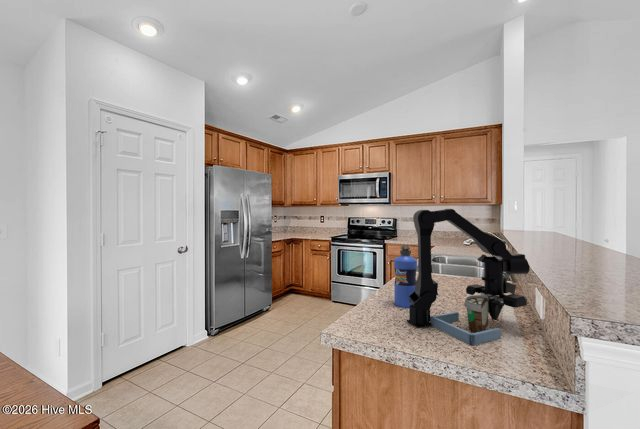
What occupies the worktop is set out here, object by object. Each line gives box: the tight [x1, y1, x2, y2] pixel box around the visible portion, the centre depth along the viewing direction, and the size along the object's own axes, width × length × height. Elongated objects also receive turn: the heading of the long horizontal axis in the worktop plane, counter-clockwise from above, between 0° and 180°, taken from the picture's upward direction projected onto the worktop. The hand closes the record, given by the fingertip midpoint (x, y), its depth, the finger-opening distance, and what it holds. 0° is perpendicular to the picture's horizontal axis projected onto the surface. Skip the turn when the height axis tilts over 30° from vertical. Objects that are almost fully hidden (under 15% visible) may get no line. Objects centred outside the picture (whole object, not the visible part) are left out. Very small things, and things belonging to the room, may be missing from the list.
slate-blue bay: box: [430, 311, 502, 347], centre depth 97 cm, size 12×17×3 cm
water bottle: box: [393, 244, 418, 309], centre depth 125 cm, size 9×9×25 cm
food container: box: [463, 294, 490, 333], centre depth 99 cm, size 12×6×10 cm, turn 141°
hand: (494, 319), depth 102 cm, fingers closed
